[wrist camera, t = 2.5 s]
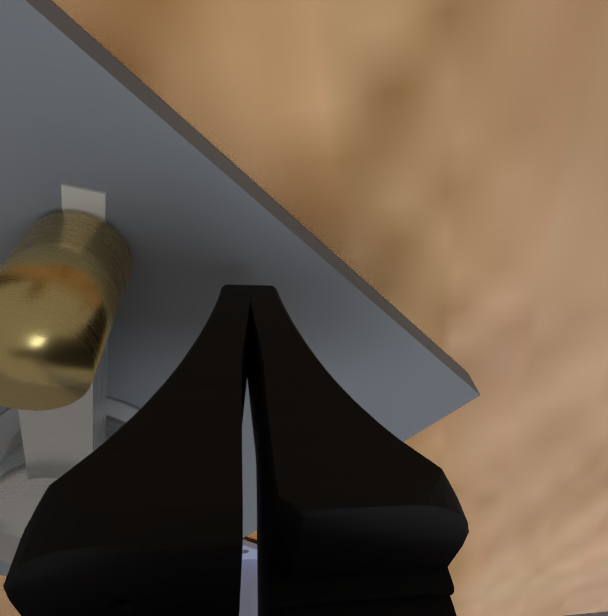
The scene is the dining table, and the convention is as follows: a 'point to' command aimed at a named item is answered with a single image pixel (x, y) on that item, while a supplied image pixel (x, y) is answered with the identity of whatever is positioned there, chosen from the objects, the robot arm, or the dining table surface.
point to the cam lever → (55, 355)
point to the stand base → (187, 236)
